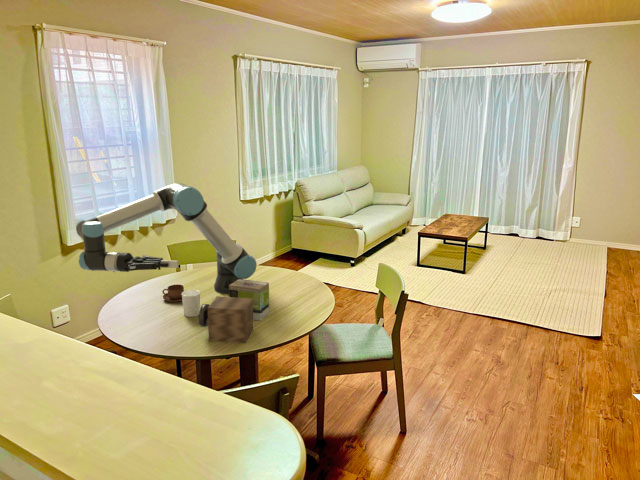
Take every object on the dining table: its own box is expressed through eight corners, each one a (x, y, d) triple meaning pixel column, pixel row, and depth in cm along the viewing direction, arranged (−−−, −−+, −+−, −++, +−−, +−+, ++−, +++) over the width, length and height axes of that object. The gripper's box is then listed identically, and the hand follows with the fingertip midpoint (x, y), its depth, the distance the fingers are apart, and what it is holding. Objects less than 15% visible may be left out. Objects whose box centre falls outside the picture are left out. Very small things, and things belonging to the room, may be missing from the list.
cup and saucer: (164, 305, 221) (163, 293, 219) (161, 296, 231) (160, 284, 230) (191, 302, 225) (190, 289, 224) (187, 293, 236) (186, 281, 234)
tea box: (269, 313, 215) (269, 282, 211) (259, 321, 206) (259, 289, 202) (240, 308, 220) (239, 277, 216) (229, 316, 210) (228, 284, 207)
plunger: (199, 330, 188) (198, 309, 186) (206, 320, 197) (205, 300, 194) (239, 332, 187) (238, 311, 185) (244, 323, 196) (244, 302, 193)
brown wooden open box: (208, 340, 187) (207, 307, 184) (217, 327, 199) (216, 296, 195) (246, 343, 186) (245, 310, 182) (253, 330, 198) (252, 298, 194)
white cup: (196, 318, 207) (195, 297, 205) (179, 316, 209) (178, 295, 206) (204, 311, 215) (203, 290, 212) (187, 309, 216) (186, 288, 214)
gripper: (128, 265, 197) (184, 268, 195) (112, 276, 184) (171, 279, 182) (126, 248, 195) (183, 250, 193) (110, 257, 182) (170, 260, 180)
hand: (177, 264), depth 188 cm, fingers closed
